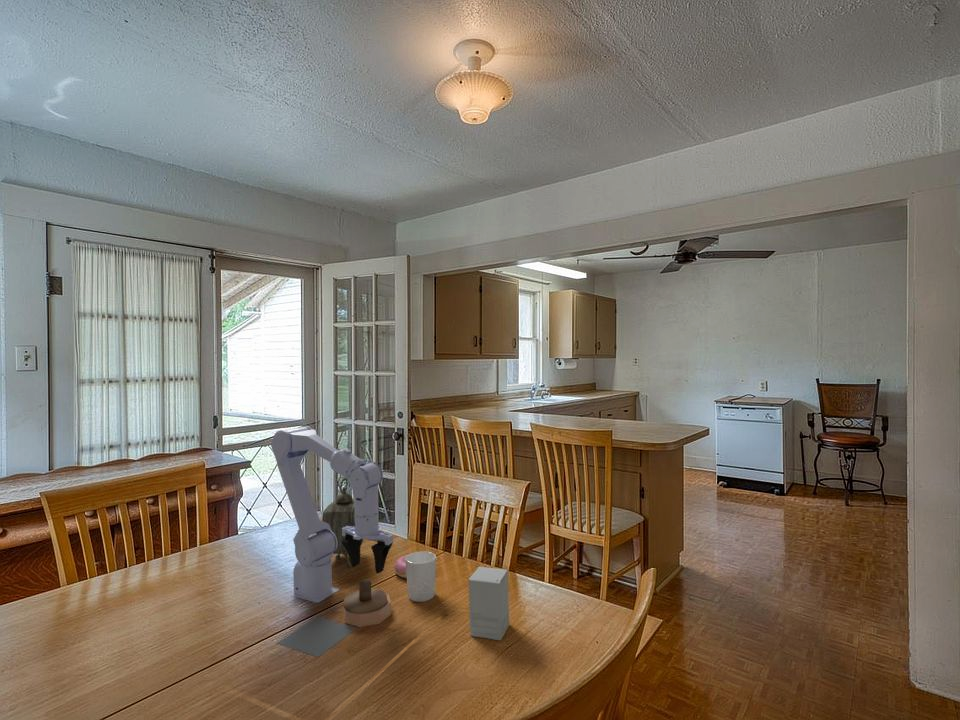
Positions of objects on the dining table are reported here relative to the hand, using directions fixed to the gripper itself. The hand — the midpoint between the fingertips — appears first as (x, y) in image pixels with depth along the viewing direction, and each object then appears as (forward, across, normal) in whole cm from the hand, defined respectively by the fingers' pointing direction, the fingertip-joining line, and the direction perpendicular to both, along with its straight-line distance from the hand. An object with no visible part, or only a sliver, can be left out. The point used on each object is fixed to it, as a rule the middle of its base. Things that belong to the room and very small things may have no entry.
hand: (367, 568), depth 123 cm
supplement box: (+10, +31, +4) cm, 33 cm away
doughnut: (+10, -2, +22) cm, 24 cm away
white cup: (+10, +8, +11) cm, 17 cm away
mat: (+10, -1, -15) cm, 18 cm away
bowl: (+10, +2, -3) cm, 11 cm away
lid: (+6, +2, -4) cm, 8 cm away
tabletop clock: (+10, -26, +20) cm, 34 cm away
